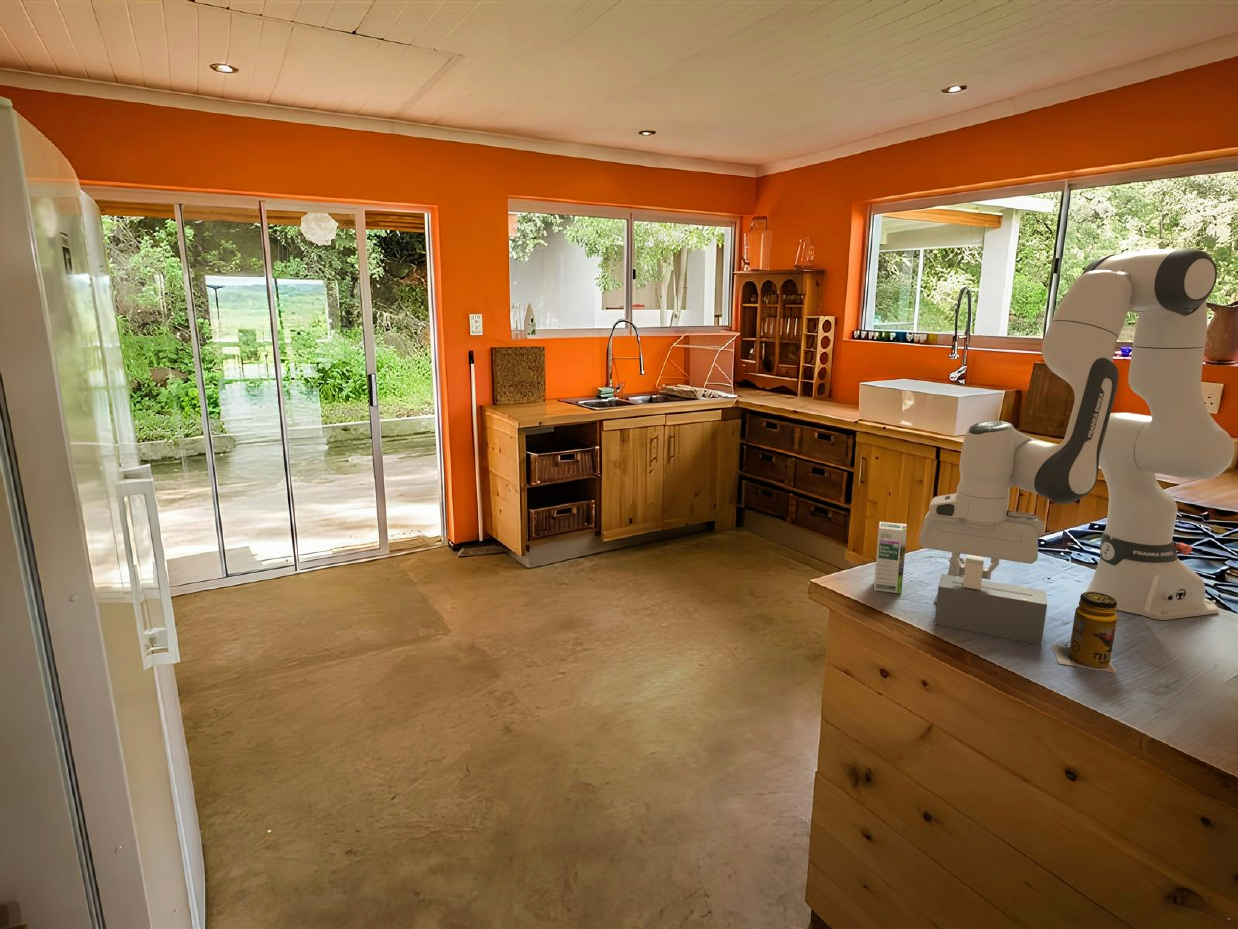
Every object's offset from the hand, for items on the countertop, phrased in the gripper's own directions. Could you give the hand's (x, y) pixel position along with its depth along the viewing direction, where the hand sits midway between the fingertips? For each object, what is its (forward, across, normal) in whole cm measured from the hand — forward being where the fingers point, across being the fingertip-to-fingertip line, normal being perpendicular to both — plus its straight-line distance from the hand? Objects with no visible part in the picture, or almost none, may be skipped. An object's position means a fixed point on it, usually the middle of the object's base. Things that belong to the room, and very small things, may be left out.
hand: (973, 576), depth 133 cm
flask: (+10, +3, -8) cm, 13 cm away
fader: (+2, 0, 0) cm, 2 cm away
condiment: (+10, -18, +6) cm, 22 cm away
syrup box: (+10, +16, -11) cm, 22 cm away
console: (+10, -3, 0) cm, 10 cm away
